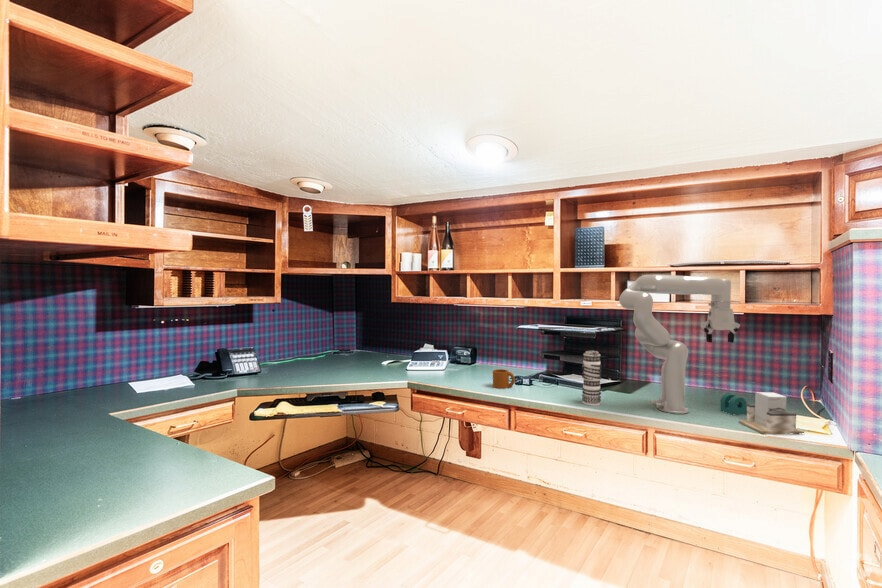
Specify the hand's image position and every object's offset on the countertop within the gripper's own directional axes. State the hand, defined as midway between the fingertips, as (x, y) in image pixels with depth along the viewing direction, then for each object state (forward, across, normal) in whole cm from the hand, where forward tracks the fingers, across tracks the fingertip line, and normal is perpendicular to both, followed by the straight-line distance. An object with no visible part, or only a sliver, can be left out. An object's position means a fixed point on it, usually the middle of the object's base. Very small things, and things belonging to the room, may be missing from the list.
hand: (719, 342), depth 199 cm
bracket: (+31, +7, -8) cm, 32 cm away
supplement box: (+29, +3, -29) cm, 41 cm away
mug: (+30, -96, +34) cm, 106 cm away
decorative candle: (+30, -57, +4) cm, 65 cm away
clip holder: (+30, +3, -29) cm, 42 cm away
